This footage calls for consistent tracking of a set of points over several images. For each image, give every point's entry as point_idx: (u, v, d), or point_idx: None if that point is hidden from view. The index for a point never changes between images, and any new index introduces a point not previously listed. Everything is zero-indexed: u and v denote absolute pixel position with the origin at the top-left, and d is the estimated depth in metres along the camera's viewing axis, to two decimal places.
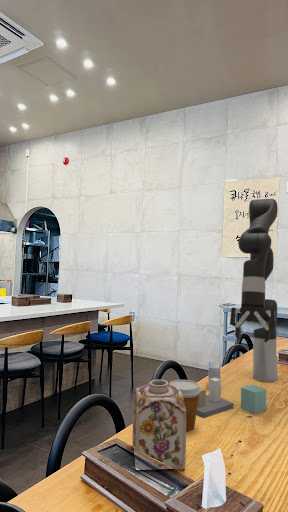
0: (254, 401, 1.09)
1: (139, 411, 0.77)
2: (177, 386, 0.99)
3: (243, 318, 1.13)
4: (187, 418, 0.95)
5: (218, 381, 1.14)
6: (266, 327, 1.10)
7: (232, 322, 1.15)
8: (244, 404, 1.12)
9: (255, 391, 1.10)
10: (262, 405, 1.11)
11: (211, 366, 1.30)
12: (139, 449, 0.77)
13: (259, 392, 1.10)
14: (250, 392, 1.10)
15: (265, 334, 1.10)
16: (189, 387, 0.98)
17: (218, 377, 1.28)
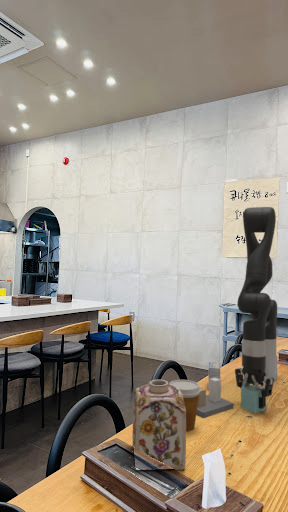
0: (254, 401, 1.09)
1: (139, 411, 0.77)
2: (177, 386, 0.98)
3: (244, 381, 1.13)
4: (187, 418, 0.95)
5: (218, 381, 1.14)
6: (260, 394, 1.09)
7: (238, 384, 1.16)
8: (244, 404, 1.12)
9: (255, 391, 1.10)
10: None
11: (211, 366, 1.30)
12: (139, 449, 0.77)
13: None
14: (250, 392, 1.10)
15: (259, 401, 1.09)
16: (189, 387, 0.98)
17: (218, 377, 1.28)
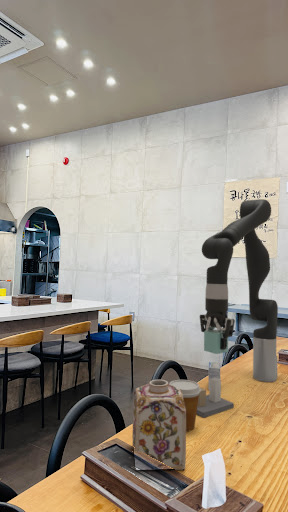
0: (216, 342, 1.12)
1: (139, 411, 0.77)
2: (177, 386, 0.98)
3: (208, 324, 1.16)
4: (187, 418, 0.95)
5: (218, 381, 1.14)
6: (221, 335, 1.12)
7: (202, 329, 1.19)
8: (207, 346, 1.15)
9: (217, 333, 1.13)
10: None
11: (211, 366, 1.30)
12: (139, 449, 0.77)
13: None
14: (212, 334, 1.13)
15: (220, 342, 1.12)
16: (189, 387, 0.98)
17: (218, 377, 1.28)
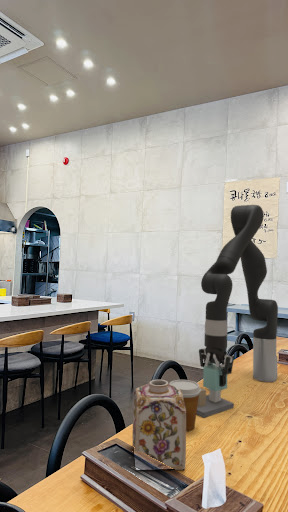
0: (215, 379, 1.11)
1: (139, 411, 0.77)
2: (177, 386, 0.98)
3: (207, 360, 1.16)
4: (187, 418, 0.95)
5: None
6: (220, 372, 1.12)
7: (202, 364, 1.19)
8: (206, 383, 1.14)
9: (216, 369, 1.12)
10: None
11: None
12: (139, 449, 0.77)
13: None
14: (211, 371, 1.13)
15: (219, 379, 1.12)
16: (189, 387, 0.98)
17: None
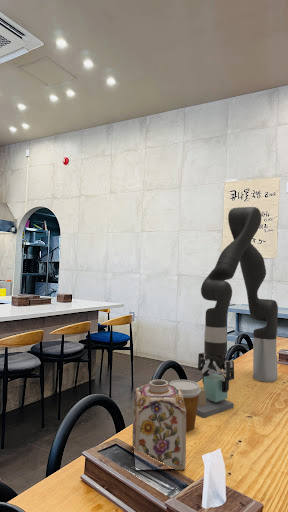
0: (215, 390, 1.11)
1: (139, 411, 0.77)
2: (177, 386, 0.98)
3: (206, 366, 1.16)
4: (187, 418, 0.95)
5: None
6: (223, 378, 1.11)
7: (199, 367, 1.20)
8: (206, 393, 1.14)
9: (216, 380, 1.12)
10: (223, 394, 1.13)
11: None
12: (139, 449, 0.77)
13: (220, 381, 1.12)
14: (212, 381, 1.13)
15: (222, 384, 1.11)
16: (189, 387, 0.98)
17: None
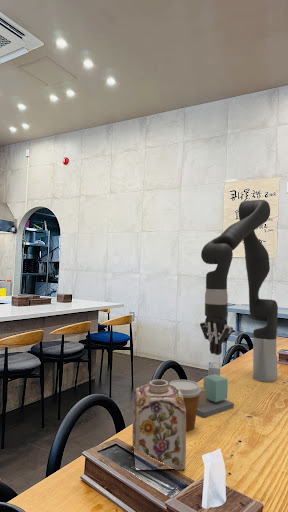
0: (215, 390, 1.11)
1: (139, 411, 0.77)
2: (177, 386, 0.98)
3: (209, 330, 1.16)
4: (187, 418, 0.95)
5: None
6: (216, 341, 1.14)
7: (206, 336, 1.17)
8: (206, 393, 1.14)
9: (216, 380, 1.12)
10: (223, 394, 1.13)
11: (211, 366, 1.30)
12: (139, 449, 0.77)
13: (220, 381, 1.12)
14: (212, 381, 1.13)
15: (215, 347, 1.14)
16: (189, 387, 0.98)
17: None
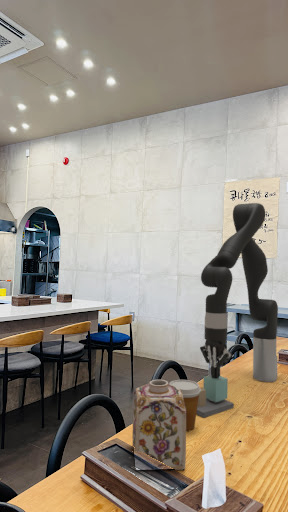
0: (215, 390, 1.11)
1: (139, 411, 0.77)
2: (177, 386, 0.98)
3: (209, 354, 1.15)
4: (187, 418, 0.95)
5: None
6: (214, 364, 1.14)
7: (207, 360, 1.17)
8: (206, 393, 1.14)
9: (216, 380, 1.12)
10: (223, 394, 1.13)
11: None
12: (139, 449, 0.77)
13: (220, 381, 1.12)
14: (212, 381, 1.13)
15: (213, 371, 1.14)
16: (189, 387, 0.98)
17: None
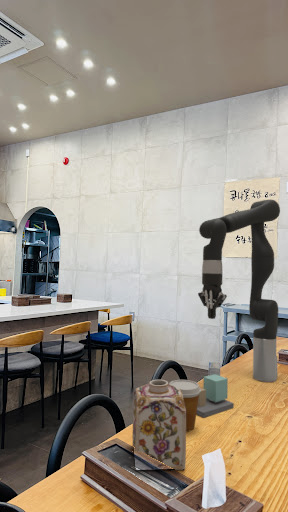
0: (215, 390, 1.11)
1: (139, 411, 0.77)
2: (177, 386, 0.98)
3: (206, 298, 1.29)
4: (187, 418, 0.95)
5: None
6: (211, 306, 1.28)
7: (204, 303, 1.30)
8: (206, 393, 1.14)
9: (216, 380, 1.12)
10: (223, 394, 1.13)
11: (211, 366, 1.30)
12: (139, 449, 0.77)
13: (220, 381, 1.12)
14: (212, 381, 1.13)
15: (210, 312, 1.28)
16: (189, 387, 0.98)
17: None
